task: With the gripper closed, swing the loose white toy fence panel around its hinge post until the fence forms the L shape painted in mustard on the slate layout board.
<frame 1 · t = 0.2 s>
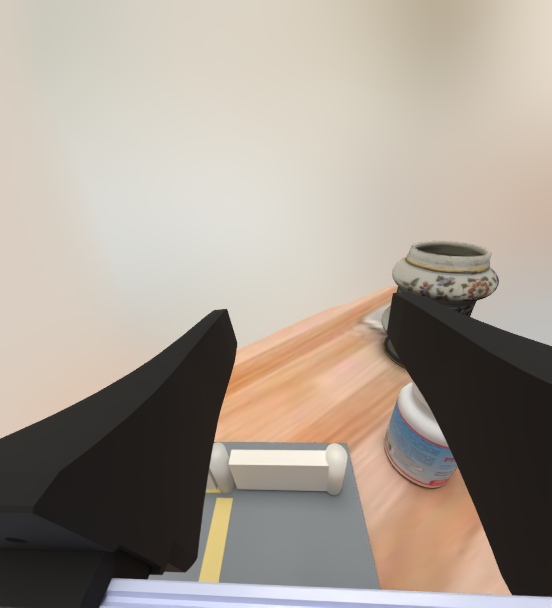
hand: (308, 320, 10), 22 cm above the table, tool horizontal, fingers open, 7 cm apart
pill bottle: (413, 456, 24), on the table
fixed fence section: (228, 485, 22), resting on layout board
layout board: (227, 537, 19), on the table
fence panel: (288, 469, 20), point 4 cm above the table, hinge at 0.0°
apothecary jar: (414, 352, 37), on the table
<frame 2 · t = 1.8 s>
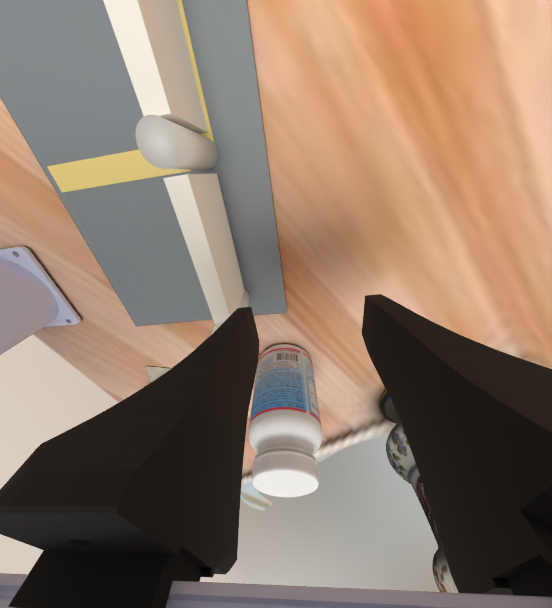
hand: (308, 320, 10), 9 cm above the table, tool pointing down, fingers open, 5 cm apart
pill bottle: (285, 360, 25), on the table
fixed fence section: (206, 154, 14), resting on layout board
layout board: (158, 175, 15), on the table
fence panel: (218, 263, 15), point 4 cm above the table, hinge at 0.0°
apothecary jar: (418, 397, 27), on the table
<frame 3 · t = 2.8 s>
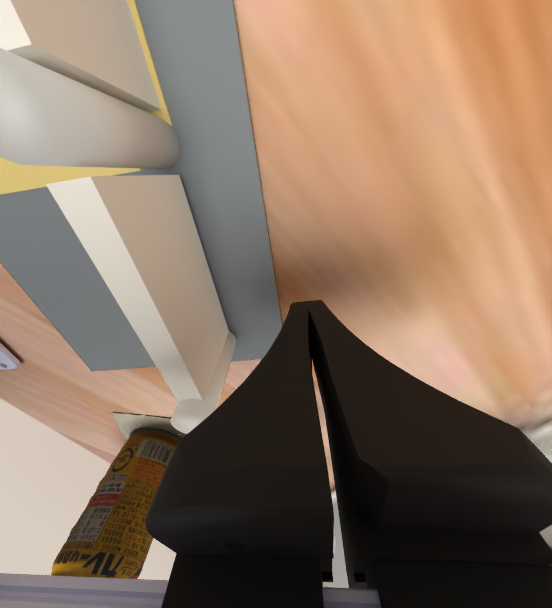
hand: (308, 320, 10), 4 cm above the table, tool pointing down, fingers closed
fixed fence section: (163, 145, 9), resting on layout board
layout board: (96, 177, 10), on the table
fence panel: (182, 309, 10), point 4 cm above the table, hinge at 0.0°
condiment: (159, 435, 23), on the table
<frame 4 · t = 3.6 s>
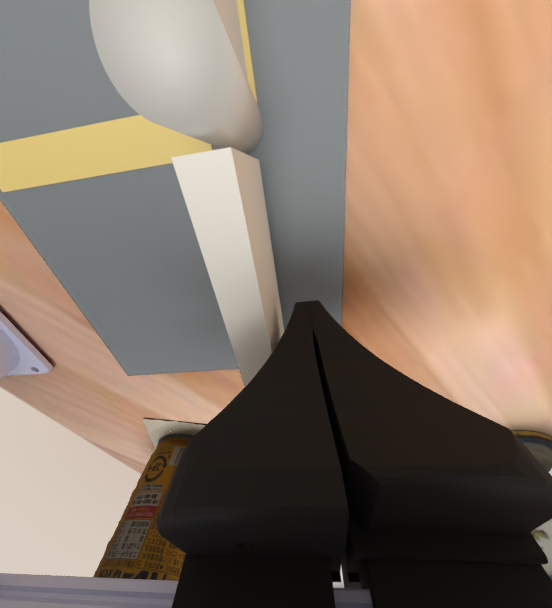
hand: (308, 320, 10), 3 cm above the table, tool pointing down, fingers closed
fixed fence section: (240, 127, 8), resting on layout board
layout board: (159, 165, 9), on the table
fence panel: (259, 311, 9), point 4 cm above the table, hinge at 0.0°, touching gripper
apothecary jar: (492, 455, 21), on the table
condiment: (188, 441, 22), on the table
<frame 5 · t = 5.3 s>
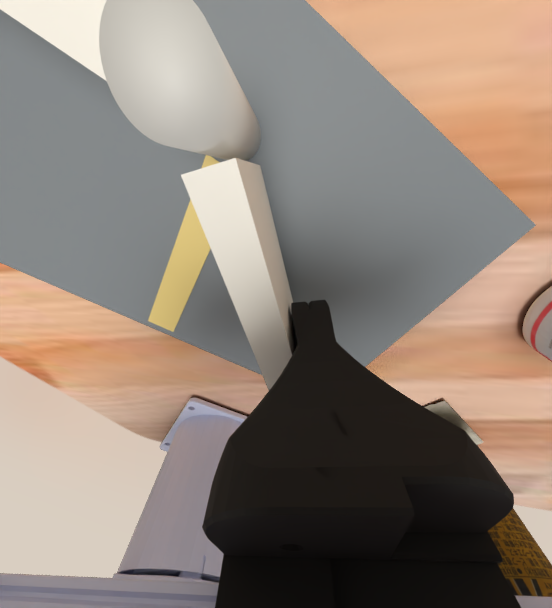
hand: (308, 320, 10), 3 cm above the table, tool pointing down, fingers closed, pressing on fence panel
fixed fence section: (239, 135, 9), resting on layout board
layout board: (219, 228, 11), on the table
fence panel: (274, 312, 9), point 4 cm above the table, hinge at -45.0°, touching gripper
condiment: (420, 432, 20), on the table
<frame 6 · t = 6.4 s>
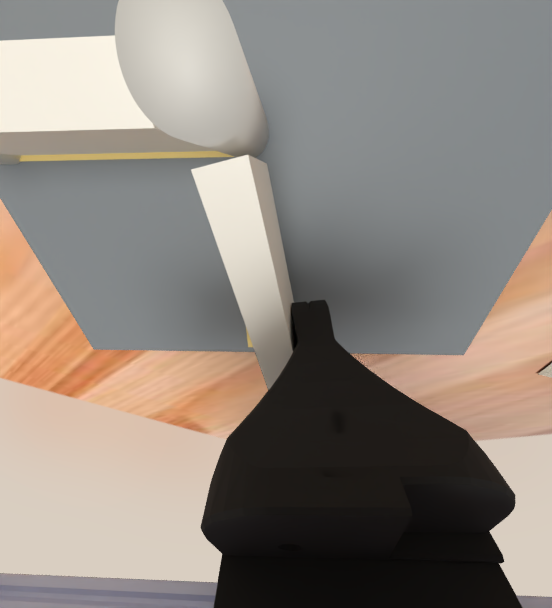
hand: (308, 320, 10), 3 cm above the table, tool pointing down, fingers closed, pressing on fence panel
fixed fence section: (247, 133, 9), resting on layout board
layout board: (268, 229, 10), on the table
fence panel: (276, 313, 9), point 4 cm above the table, hinge at -79.1°, touching gripper
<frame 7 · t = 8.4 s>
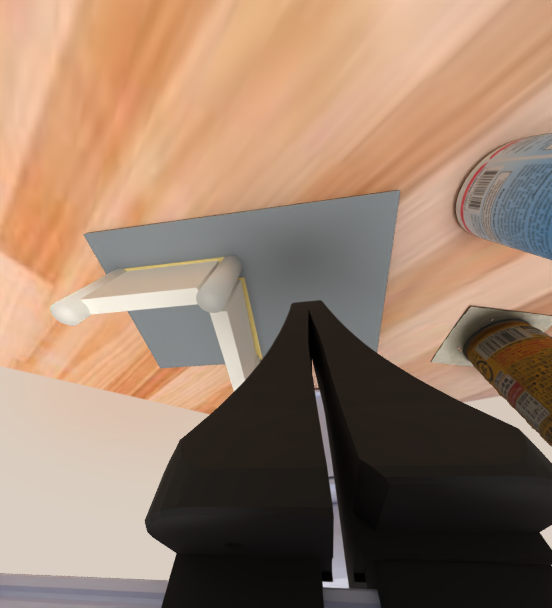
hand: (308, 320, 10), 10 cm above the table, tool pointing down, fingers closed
pill bottle: (497, 191, 15), on the table
fixed fence section: (233, 263, 19), resting on layout board
layout board: (249, 300, 20), on the table
fence panel: (239, 347, 19), point 4 cm above the table, hinge at -91.7°
condiment: (486, 338, 22), on the table
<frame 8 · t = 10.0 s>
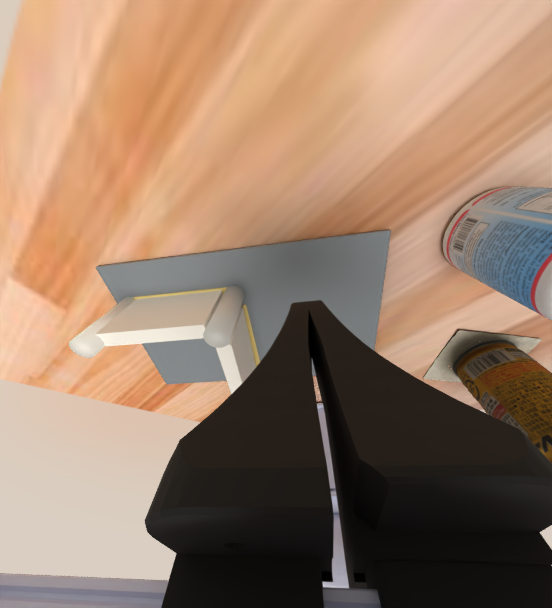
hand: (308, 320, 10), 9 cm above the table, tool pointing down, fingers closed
pill bottle: (481, 230, 16), on the table
fixed fence section: (235, 292, 20), resting on layout board
layout board: (251, 323, 22), on the table
fence panel: (241, 370, 20), point 4 cm above the table, hinge at -91.7°
condiment: (475, 357, 23), on the table
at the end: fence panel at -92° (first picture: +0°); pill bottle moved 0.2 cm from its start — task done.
